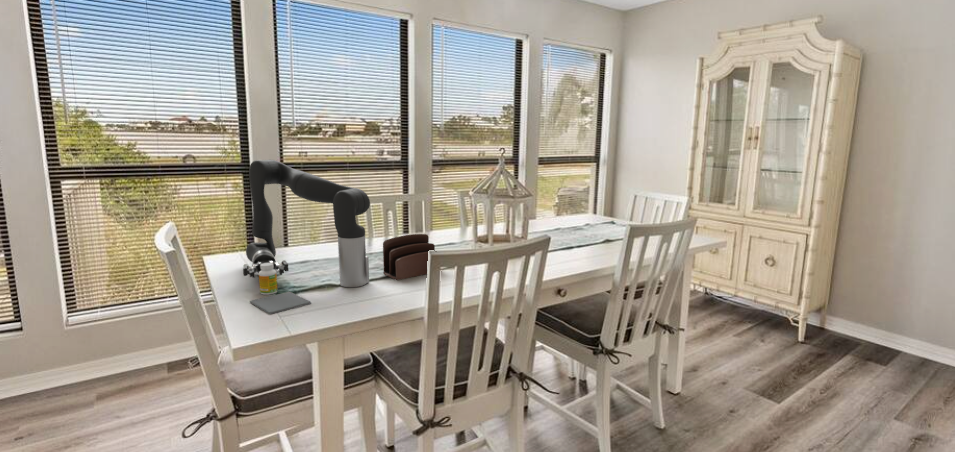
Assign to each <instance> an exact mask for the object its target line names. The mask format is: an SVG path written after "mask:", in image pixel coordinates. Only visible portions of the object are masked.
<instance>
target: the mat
mask: <svg viewBox="0 0 955 452" xmlns="http://www.w3.org/2000/svg"><path fill="white" fill-rule="evenodd" d="M249 303H250V304H252V305H253V306H255V307H257V308H258V309H260V310H262V311H263V312H265V313H267V314H268V315H273V314H276V313H280V312H281V313H282V312H285V311H288V310H292V309H295V308H299V307H302V306H303V307H304V306H306V305H307V306H308V305H310V304H312V302H311V301H310V300H308V299H306V298H303V297H302V296H300V295H298V294H295V293H293V292H292V291H286V292H282V293H278V294H277V293H276V294H271V295H268V296H265V297H260V298H257V299H252V300H249Z"/></svg>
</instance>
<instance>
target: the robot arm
mask: <svg viewBox="0 0 955 452" xmlns="http://www.w3.org/2000/svg"><path fill="white" fill-rule="evenodd" d="M248 176H249V177H248V179H249V186H250V194H251V195H250V196H251V202H252V203H251V204H252V230H251V231H252V236H253V237H254V238H258V239H262V240H264V241H265V242H250V243H249V244H248V245H247V246H246V248H245V249H246V250H245V254H246V257H247V259H248V260H249V261H250V262H251V263H252V264H251V265H250V266H249V264H243V266H242V272H243V276H244V277H246V276H248V275H249V277H250V278H252V279H255V276H259V272H260V271H261V268H260V265H261V264H263V263H273V265H274V268H273V269H274V270H276V274H277V273H278V274H279V276H282V275H283V274H285V272H289V263H288V262H287V260H286V259H285V260H283V259H282V261H281V262H280V263H279V262H278V261H276V255H277V251H276V247H275V243H274V239H273V218H274V217H273V212H272V209H271V208H270V206H269V204H268V202H267V200H266V195H265V186H266V185H275V184H276V185H281V186H285V187H288V188H289V190H290V191H291V192H292V193H293V194H294V195H295V196H297V197H299V198H301V199H304V200H306V201H310V202H315V203H323V204H332V207H333V208H332V210H333V219H334V226H335V230H336V232H337V233H336V234H337V249H338V251H337V252H338V268H339V269H338V271H339V273H338V274H339V285H340V286H341V287H345V288H356V287H357V288H358V287H362V286H365V285H366V284H369V283H370V264H369V256H368V255H367V253H366V252H367V250H366V249H367V248H366V247H367V245H366V227H364V226H362V225H359V224H357V219H356V218H357V216H359V215H362V214H365V213H366V212H368V210H369V209H370V207H371V206H370V205H371V200H370V198H369V196H368V194H367V193H366V192H365V191H364V190H362V189H360V188H358V187H351V186H347V185H343V184H342V185H341V184H339V183H336V182H334V181H331V180H328V179H326V178H323V177H320V176H319V175H318V176H317V175H316V174H312V173H310V172H307V171H303V170H300V169H296V168H292V167H291V166H288V165H286V164H284V163H283V162H280V161H278V160H275V159H256V160H254V161H252V162H251V164H250V165H249V169H248Z"/></svg>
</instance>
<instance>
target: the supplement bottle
mask: <svg viewBox="0 0 955 452" xmlns="http://www.w3.org/2000/svg"><path fill="white" fill-rule="evenodd" d="M260 268H261V271H260V272H259V274H258V281H259V293H260V294H261V295H263V296H267V295H268V296H271V295H275V294H277V292H278V291H277V290H278V279H277V278H278V277H277V273H276V270H274V269H273V268H274V265H273V263H263V264H261V265H260Z"/></svg>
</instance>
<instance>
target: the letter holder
mask: <svg viewBox="0 0 955 452" xmlns="http://www.w3.org/2000/svg"><path fill="white" fill-rule="evenodd" d="M429 238H430V237H429V235H428V234H425V233H415V234H414V233H413V234H405V235H400V236H396V237H392V238H388V239H385V240H384V241H383V242H382V257H383V260H382V261H383V263H382V264H383V275H384V274H385V276H386V275H387V277H388V278H391V279H393V280H394V281H399V280H404V279H406V280H407V279H411V278H414V277H420V276H425V275H428V274H427V261H428V251H429V250H434V251H435V252H436V248H435V247H436V245H435V244H434V243H433V242H432V243H430V242H429V241H430V240H429Z"/></svg>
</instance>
